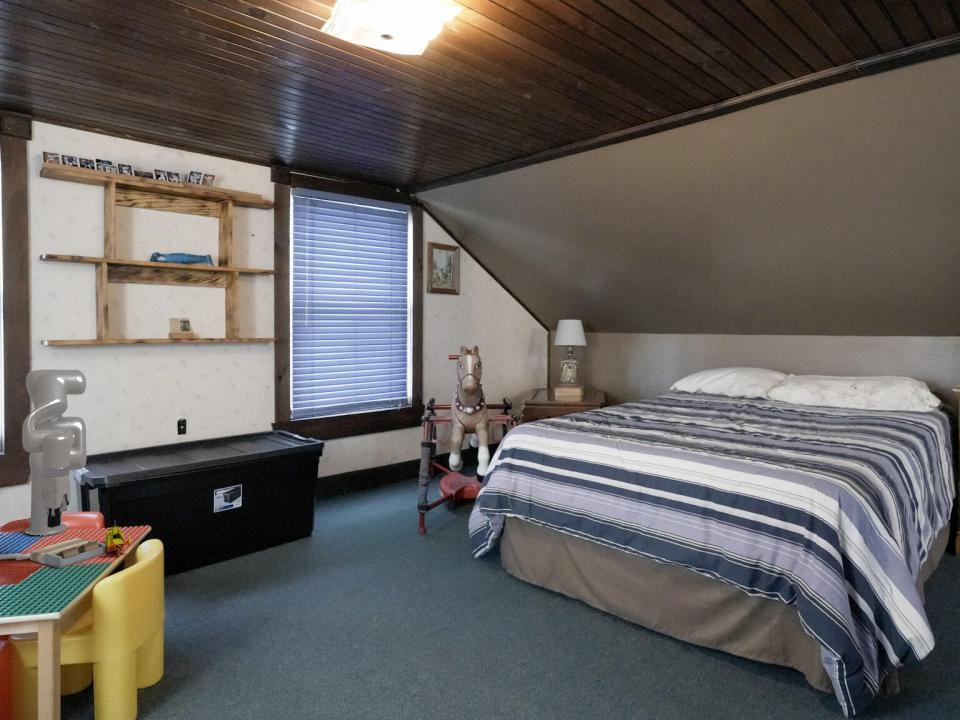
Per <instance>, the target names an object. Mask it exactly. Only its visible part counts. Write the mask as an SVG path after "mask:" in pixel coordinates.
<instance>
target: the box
mask: <svg viewBox="0 0 960 720" xmlns="http://www.w3.org/2000/svg"><path fill="white" fill-rule="evenodd" d="M87 541H88V543H91V542H94V541H95V540H91V539H89V540H87ZM97 542H98V545H99V548H97V549H94V550H90V551H87V552H84V553H80V554H77V555H74V556H71V557H67V558H64V559H62V557H61V556H57V555H54V554H50V553H44V564H43V565H45V566H48V567H49V566H50V567H51V568H52V567H53V568H55V569H59V570H60V569H62V568H66V567H68V566H72V565H75V564H78V563H81V562H84V561H88V560H91V559H94V558H97V557H96V556H98V557H100V556H99V555H101V554H104V553H105V554H106V546H105V543H103V542H99V541H97ZM105 554H104V555H105ZM101 556H102V555H101ZM93 557H94V558H93Z"/></svg>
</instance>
